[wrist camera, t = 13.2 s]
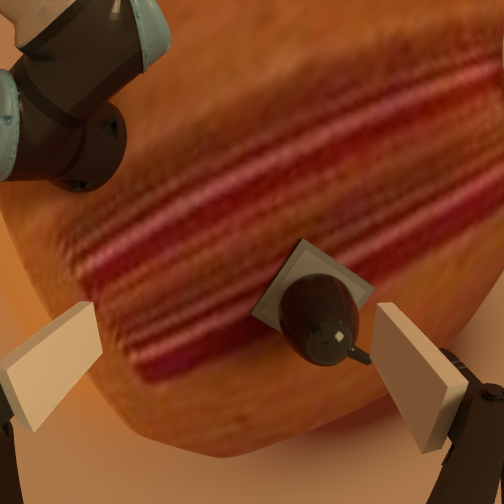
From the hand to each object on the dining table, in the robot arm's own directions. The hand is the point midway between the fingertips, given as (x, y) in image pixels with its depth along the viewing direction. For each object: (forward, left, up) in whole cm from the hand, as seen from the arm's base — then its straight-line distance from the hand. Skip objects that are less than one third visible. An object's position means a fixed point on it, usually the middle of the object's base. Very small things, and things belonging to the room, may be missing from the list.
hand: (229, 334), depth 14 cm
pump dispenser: (+12, -3, -30) cm, 33 cm away
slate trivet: (+12, -3, -31) cm, 33 cm away
